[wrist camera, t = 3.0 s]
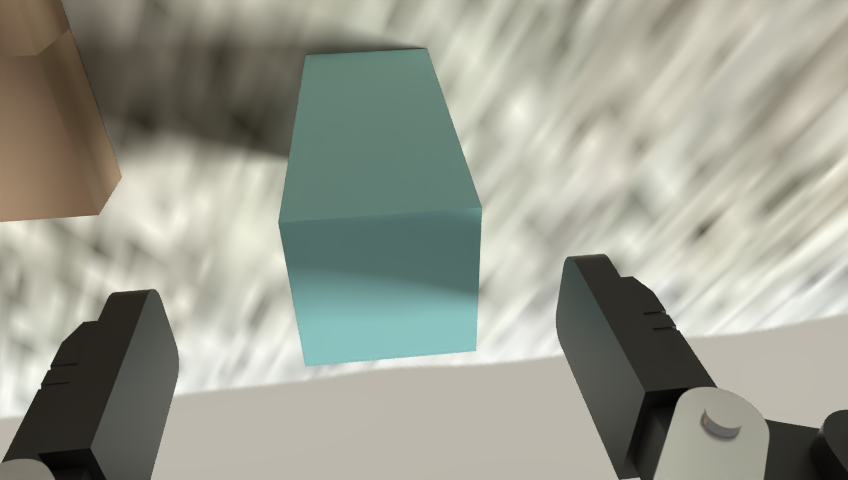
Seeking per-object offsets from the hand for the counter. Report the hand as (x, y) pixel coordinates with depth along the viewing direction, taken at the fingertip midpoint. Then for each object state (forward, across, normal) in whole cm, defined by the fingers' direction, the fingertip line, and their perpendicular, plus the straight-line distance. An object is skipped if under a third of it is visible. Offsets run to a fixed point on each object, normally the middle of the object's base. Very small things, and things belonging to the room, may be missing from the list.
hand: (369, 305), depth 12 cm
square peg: (+11, -1, 0) cm, 11 cm away
